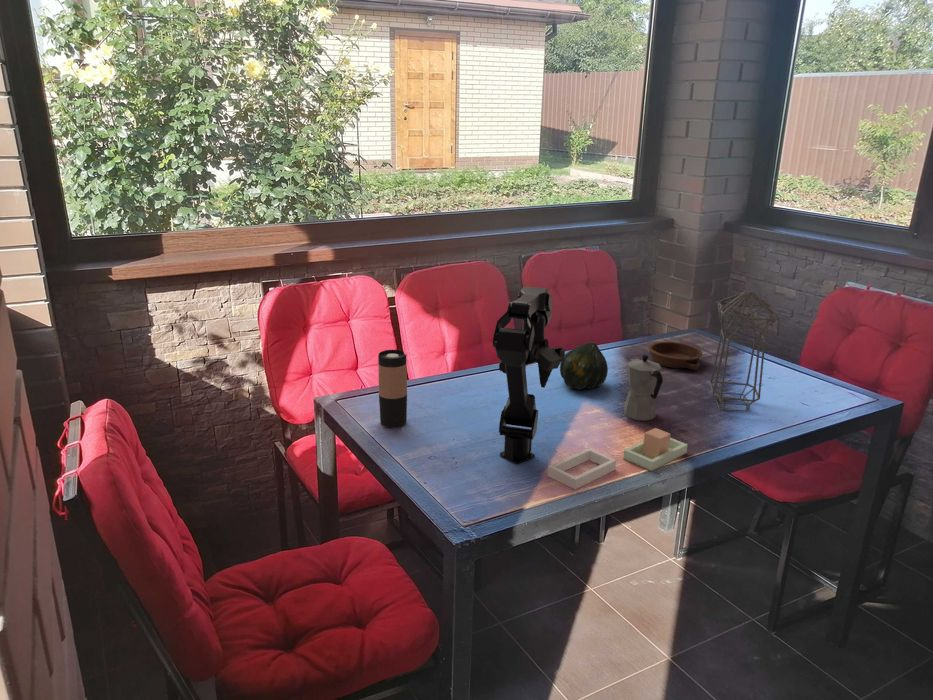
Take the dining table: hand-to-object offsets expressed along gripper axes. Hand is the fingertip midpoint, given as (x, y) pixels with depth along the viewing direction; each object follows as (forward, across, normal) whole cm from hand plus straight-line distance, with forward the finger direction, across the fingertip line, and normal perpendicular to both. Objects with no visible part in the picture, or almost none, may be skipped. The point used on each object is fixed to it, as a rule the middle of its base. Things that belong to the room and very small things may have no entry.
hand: (530, 391), depth 195 cm
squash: (+12, +38, +14) cm, 42 cm away
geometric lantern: (+12, +60, -25) cm, 66 cm away
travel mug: (+12, -25, +28) cm, 39 cm away
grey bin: (+12, -6, -24) cm, 27 cm away
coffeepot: (+12, +33, -12) cm, 37 cm away
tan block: (+12, +15, -30) cm, 35 cm away
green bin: (+12, +15, -30) cm, 35 cm away
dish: (+12, +79, +8) cm, 80 cm away
